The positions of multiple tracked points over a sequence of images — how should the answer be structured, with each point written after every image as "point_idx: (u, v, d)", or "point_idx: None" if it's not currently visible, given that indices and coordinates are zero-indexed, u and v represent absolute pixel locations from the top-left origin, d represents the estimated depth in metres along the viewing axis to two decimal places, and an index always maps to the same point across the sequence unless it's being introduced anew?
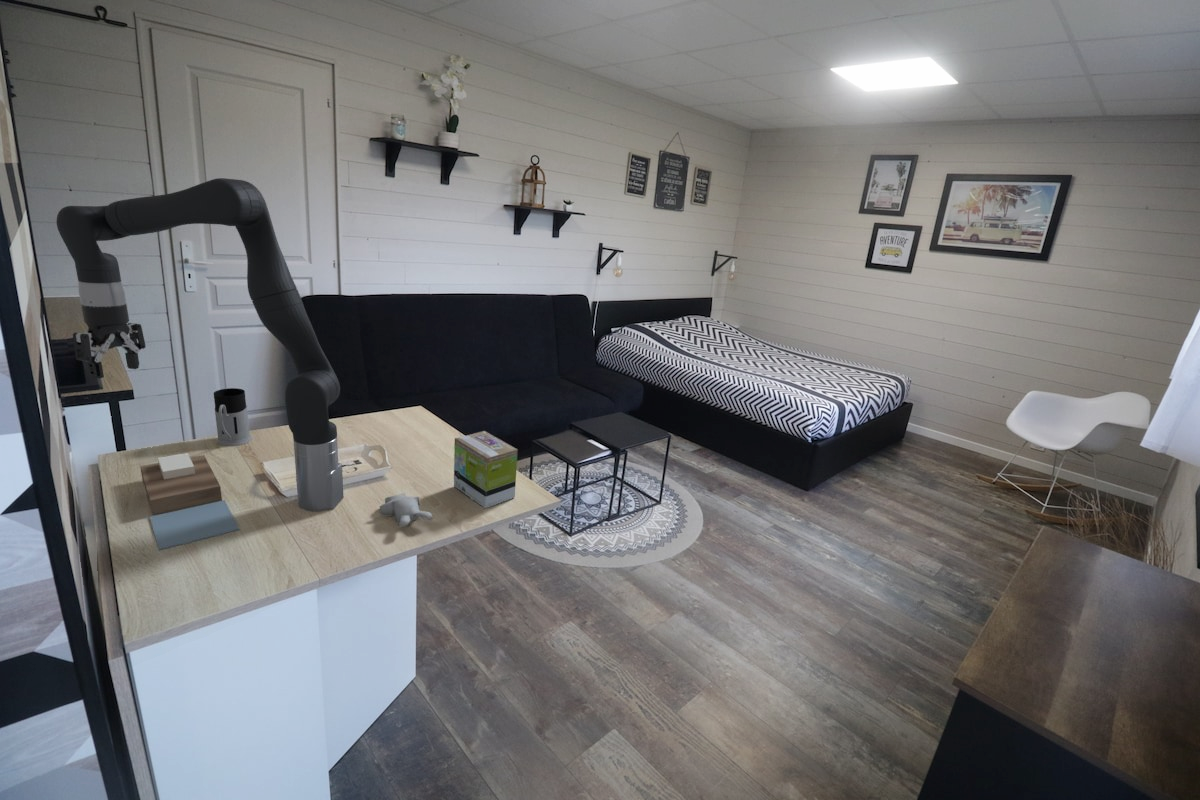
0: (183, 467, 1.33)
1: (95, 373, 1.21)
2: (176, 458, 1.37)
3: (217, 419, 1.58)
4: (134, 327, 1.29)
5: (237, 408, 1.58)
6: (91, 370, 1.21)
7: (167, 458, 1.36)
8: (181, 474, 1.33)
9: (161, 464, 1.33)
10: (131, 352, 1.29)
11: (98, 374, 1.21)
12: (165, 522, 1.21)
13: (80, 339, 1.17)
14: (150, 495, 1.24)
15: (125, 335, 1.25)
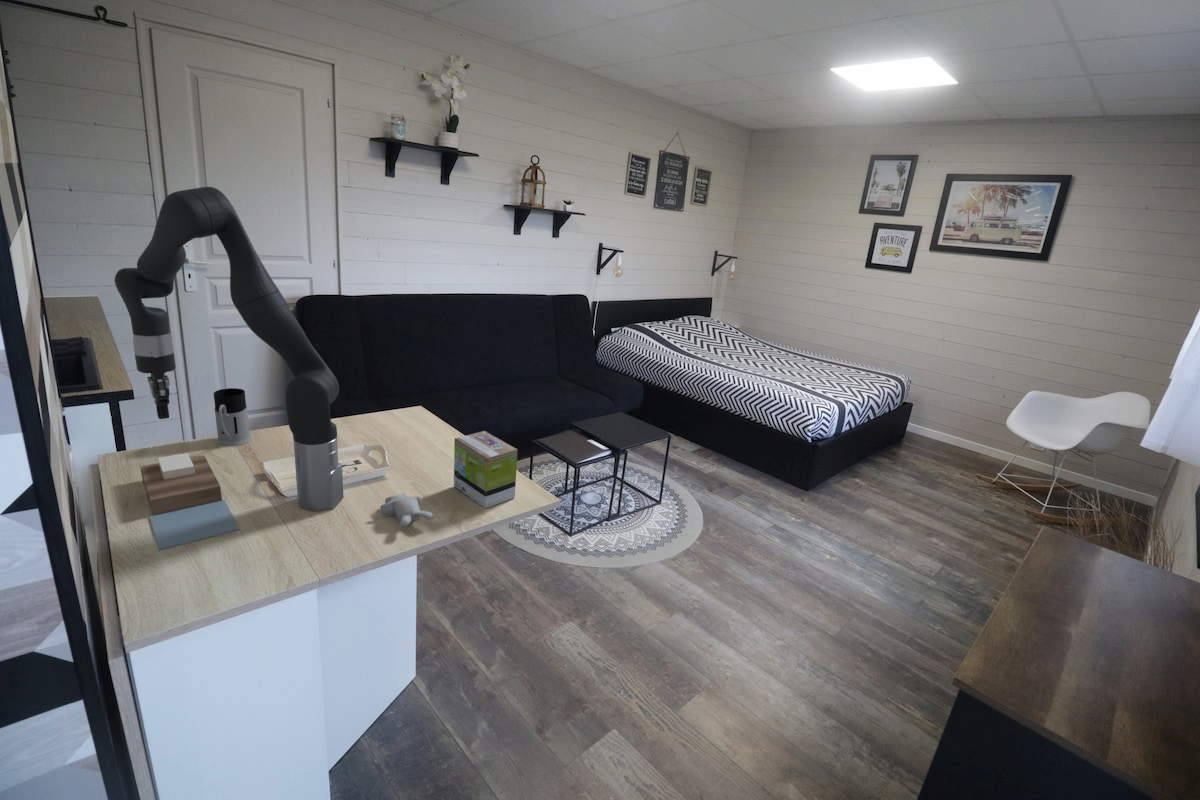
0: (183, 467, 1.33)
1: None
2: (176, 458, 1.37)
3: (217, 419, 1.58)
4: None
5: (237, 408, 1.58)
6: None
7: (167, 458, 1.36)
8: (181, 474, 1.33)
9: (161, 464, 1.33)
10: None
11: None
12: (165, 522, 1.21)
13: None
14: (150, 495, 1.24)
15: (149, 384, 1.35)
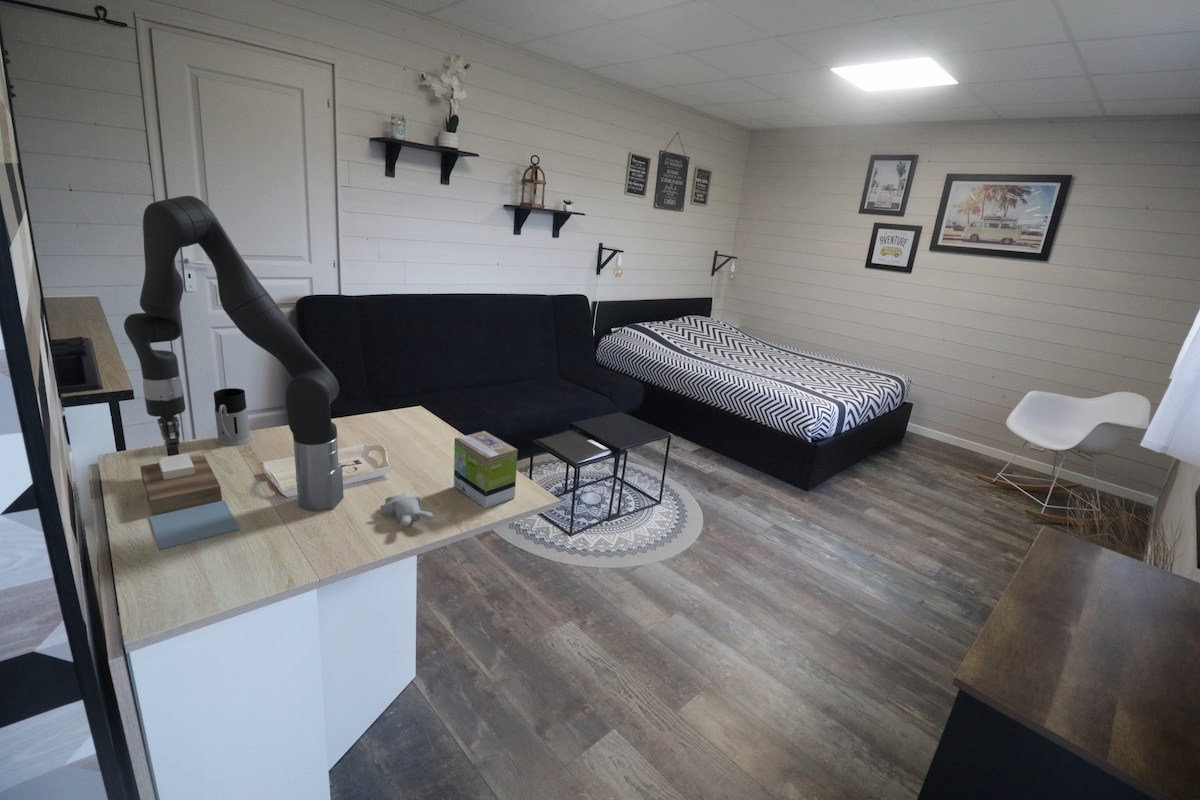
0: (183, 467, 1.33)
1: None
2: (176, 458, 1.37)
3: (217, 419, 1.58)
4: None
5: (237, 408, 1.58)
6: None
7: (167, 458, 1.36)
8: (181, 474, 1.33)
9: (161, 464, 1.33)
10: None
11: None
12: (165, 522, 1.21)
13: None
14: (150, 495, 1.24)
15: (159, 427, 1.35)
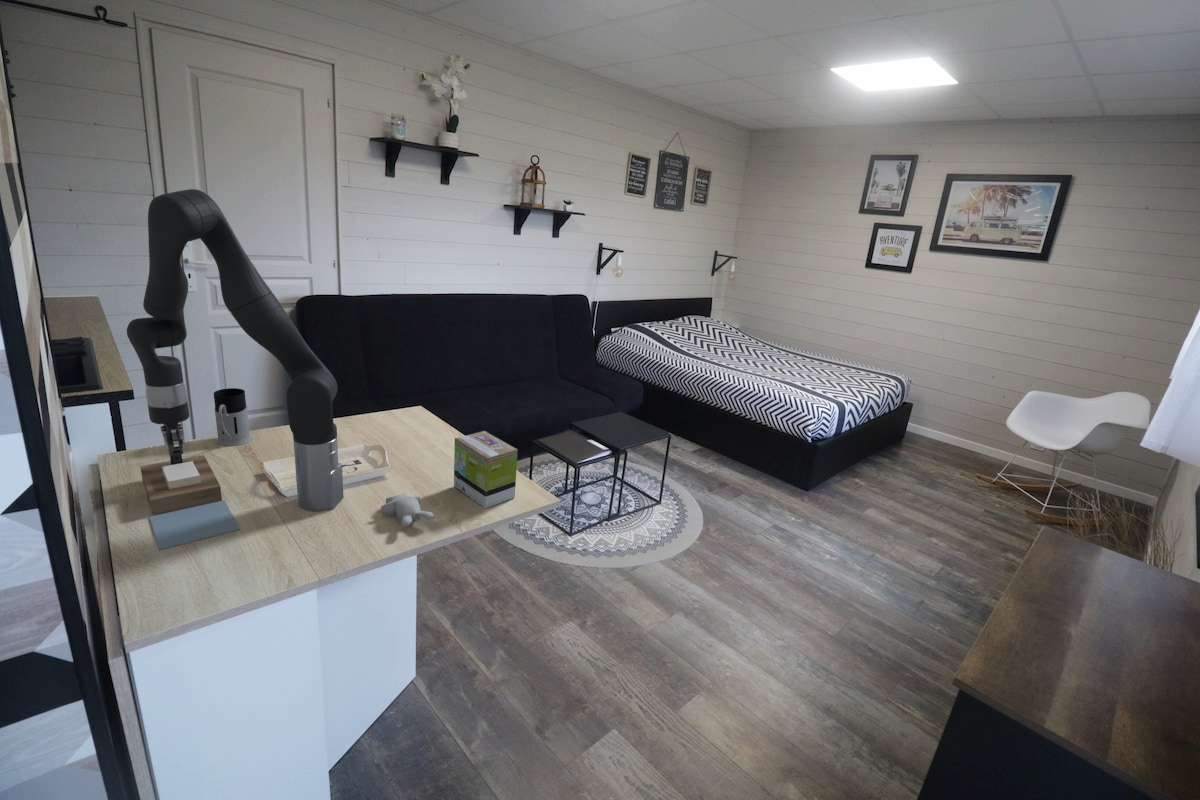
0: (189, 476, 1.29)
1: None
2: (181, 467, 1.33)
3: (217, 419, 1.58)
4: None
5: (237, 408, 1.58)
6: None
7: (172, 467, 1.33)
8: (187, 483, 1.29)
9: (166, 473, 1.30)
10: None
11: None
12: (165, 522, 1.21)
13: None
14: (150, 495, 1.24)
15: None
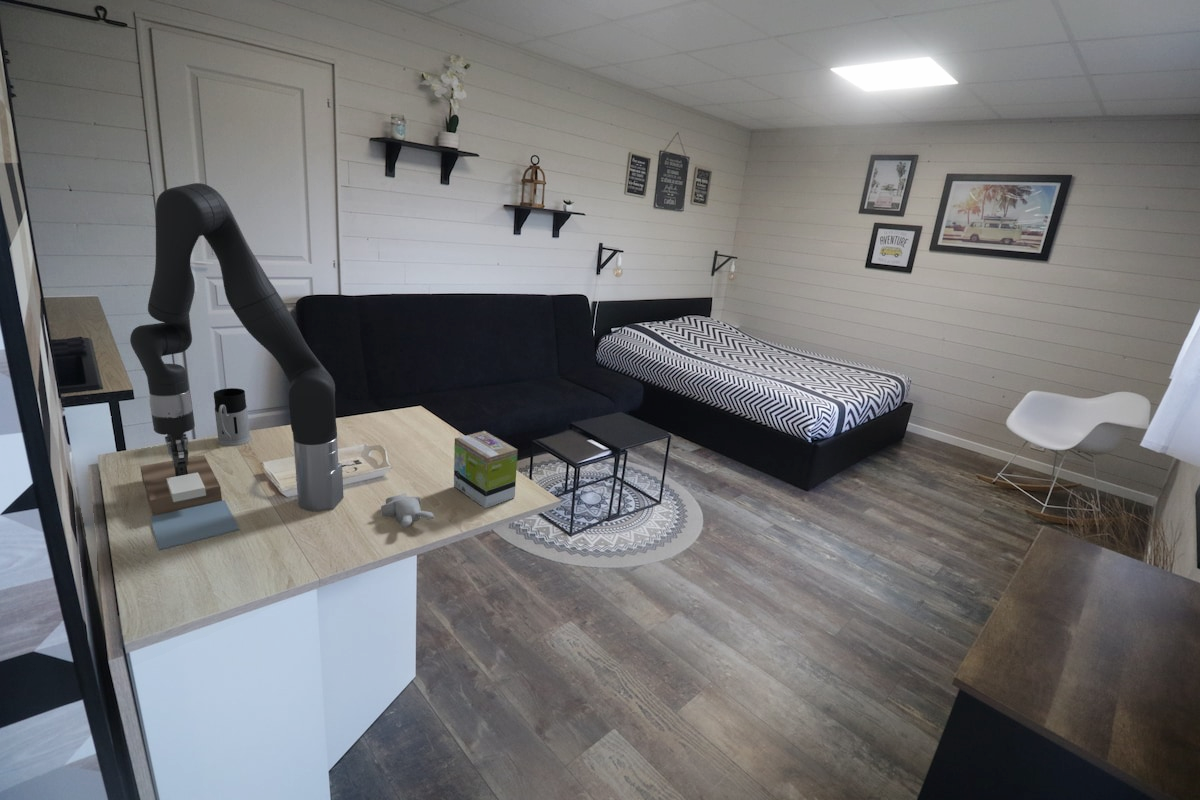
0: (193, 489, 1.25)
1: None
2: (186, 478, 1.28)
3: (217, 419, 1.58)
4: None
5: (237, 408, 1.58)
6: None
7: (176, 479, 1.28)
8: (191, 496, 1.24)
9: (170, 485, 1.25)
10: None
11: None
12: (165, 522, 1.21)
13: None
14: (150, 495, 1.24)
15: (167, 445, 1.26)
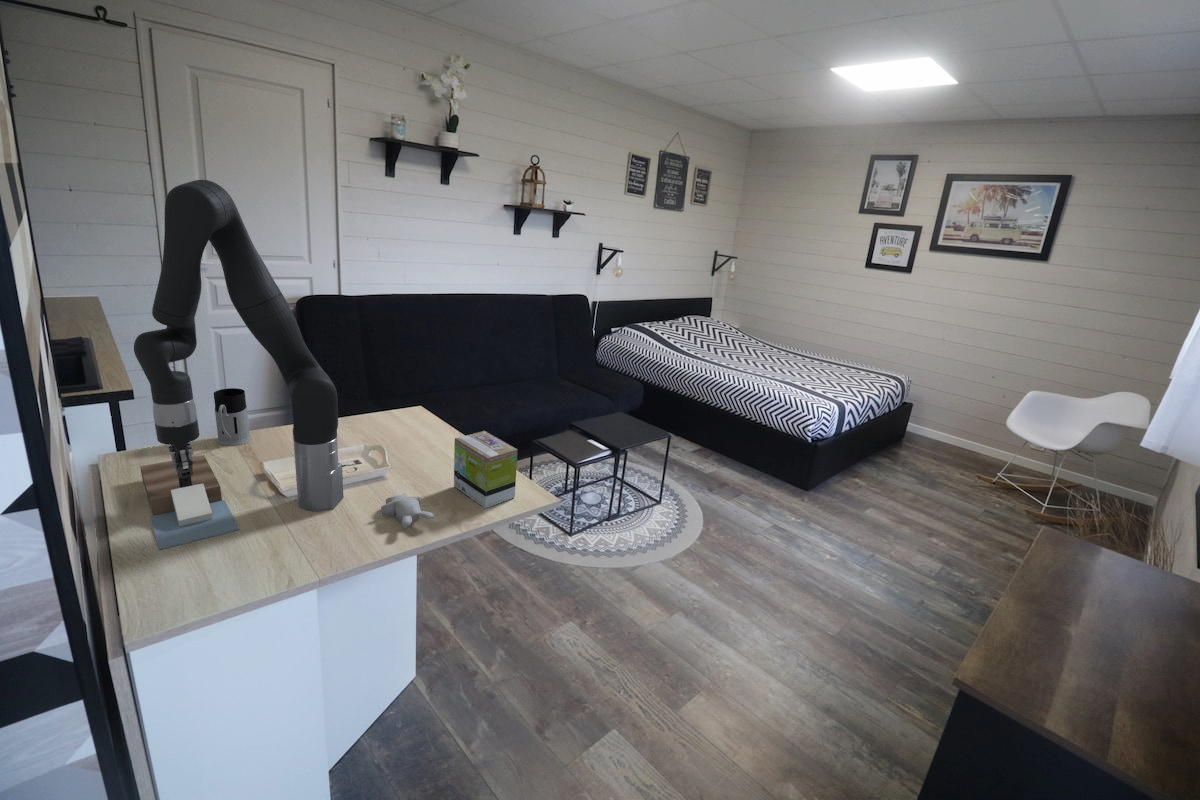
0: (200, 514, 1.22)
1: None
2: (191, 493, 1.25)
3: (217, 419, 1.58)
4: None
5: (237, 408, 1.58)
6: None
7: (181, 493, 1.24)
8: (198, 520, 1.22)
9: (175, 504, 1.21)
10: None
11: None
12: (165, 522, 1.21)
13: None
14: (150, 495, 1.24)
15: (171, 456, 1.22)
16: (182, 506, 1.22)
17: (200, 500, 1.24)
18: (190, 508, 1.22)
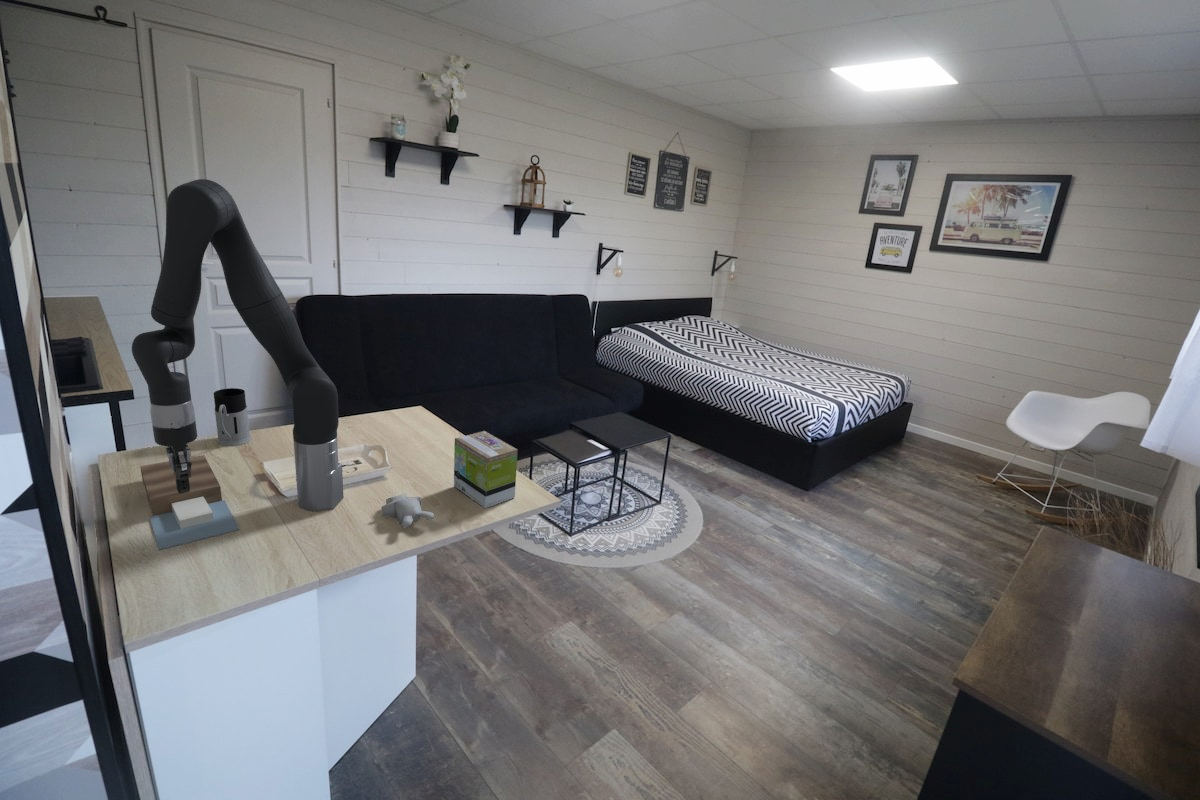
0: (201, 514, 1.22)
1: None
2: (192, 503, 1.26)
3: (217, 419, 1.58)
4: None
5: (237, 408, 1.58)
6: None
7: (182, 504, 1.25)
8: (199, 522, 1.22)
9: (176, 511, 1.22)
10: None
11: None
12: (165, 522, 1.21)
13: None
14: (150, 495, 1.24)
15: (168, 457, 1.21)
16: (183, 511, 1.22)
17: (200, 506, 1.25)
18: (191, 512, 1.22)
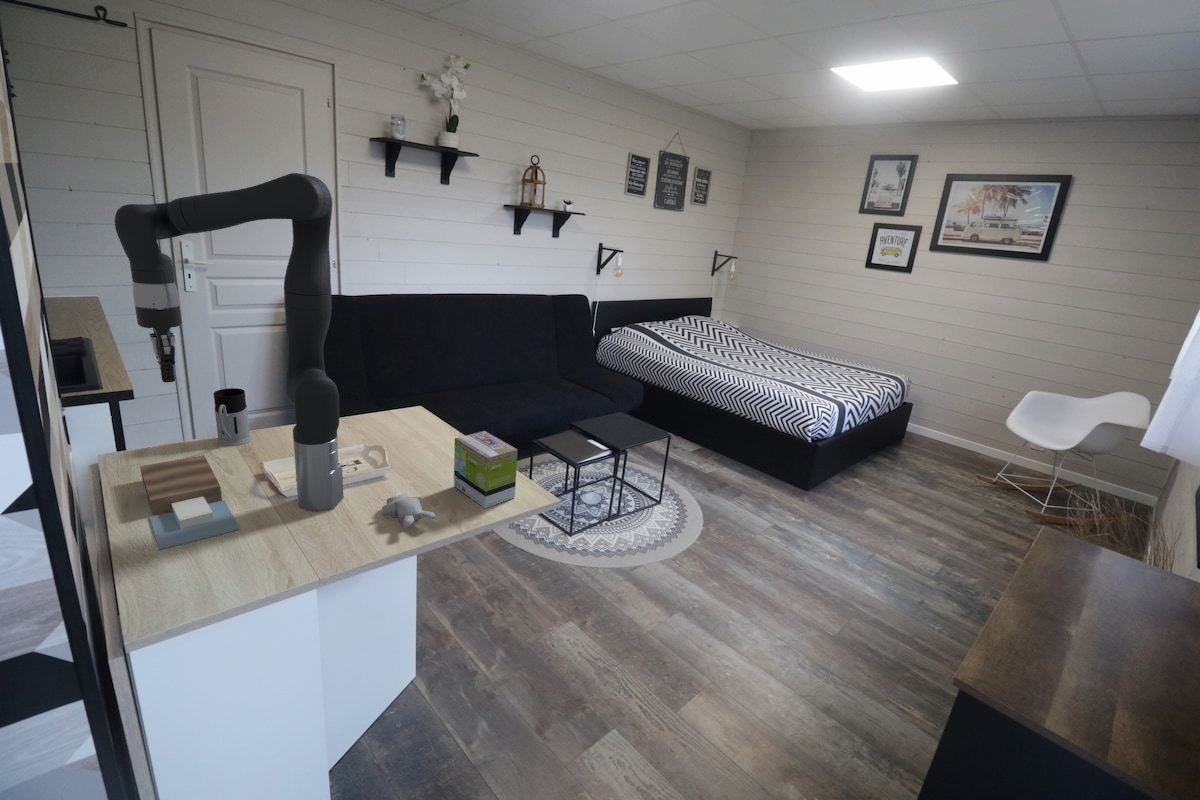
0: (201, 514, 1.22)
1: None
2: (192, 503, 1.26)
3: (217, 419, 1.58)
4: None
5: (237, 408, 1.58)
6: None
7: (182, 504, 1.25)
8: (199, 522, 1.22)
9: (176, 511, 1.22)
10: None
11: None
12: (165, 522, 1.21)
13: None
14: (150, 495, 1.24)
15: (152, 342, 1.18)
16: (183, 511, 1.22)
17: (200, 506, 1.25)
18: (191, 512, 1.22)
